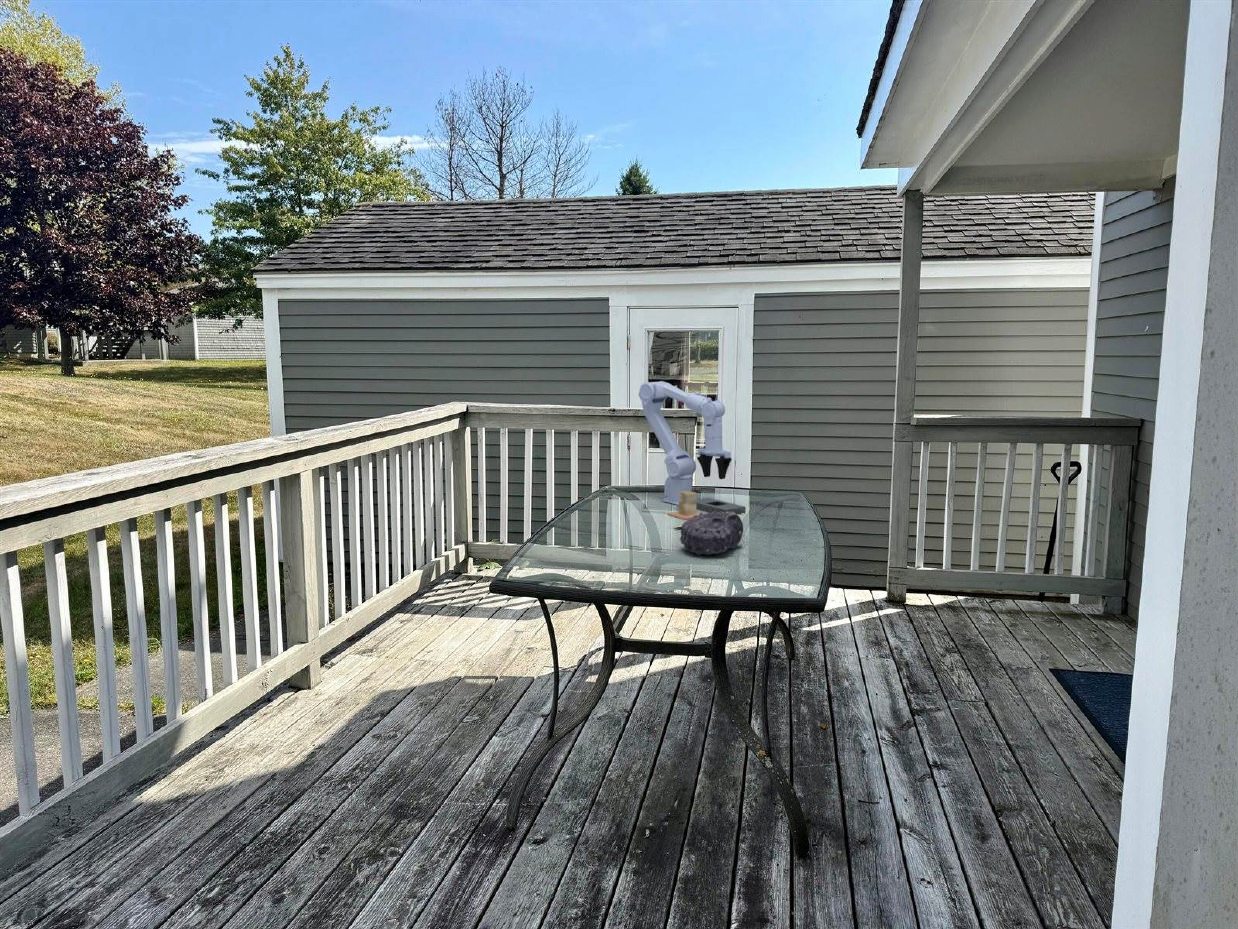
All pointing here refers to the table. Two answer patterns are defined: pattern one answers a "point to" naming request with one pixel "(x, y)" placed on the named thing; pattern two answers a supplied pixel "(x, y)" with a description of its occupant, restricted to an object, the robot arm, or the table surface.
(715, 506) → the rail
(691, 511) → the peg
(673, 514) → the tile
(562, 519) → the table surface
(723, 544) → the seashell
